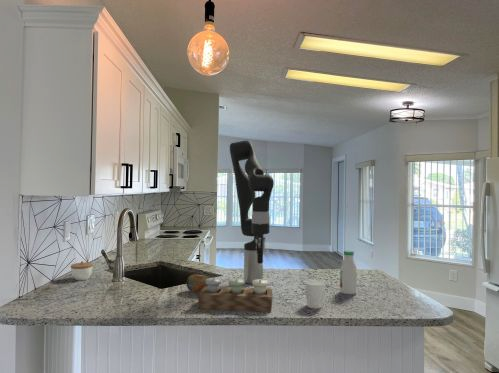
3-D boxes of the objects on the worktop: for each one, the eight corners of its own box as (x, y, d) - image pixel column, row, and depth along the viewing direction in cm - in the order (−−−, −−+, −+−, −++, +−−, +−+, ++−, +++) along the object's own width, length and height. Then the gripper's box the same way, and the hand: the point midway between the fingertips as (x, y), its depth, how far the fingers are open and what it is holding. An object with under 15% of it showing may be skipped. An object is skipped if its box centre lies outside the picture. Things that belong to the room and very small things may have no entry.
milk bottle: (359, 292, 176) (359, 251, 176) (351, 296, 170) (352, 253, 170) (344, 289, 181) (345, 249, 181) (336, 292, 176) (337, 251, 176)
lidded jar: (87, 281, 190) (87, 263, 190) (66, 281, 191) (66, 263, 191) (96, 276, 201) (96, 259, 201) (76, 276, 201) (76, 259, 201)
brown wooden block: (272, 302, 160) (272, 288, 160) (271, 311, 148) (271, 297, 148) (204, 299, 163) (204, 286, 163) (198, 308, 151) (198, 294, 151)
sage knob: (245, 290, 158) (245, 278, 158) (243, 295, 152) (243, 282, 152) (229, 290, 159) (230, 278, 159) (227, 294, 152) (227, 282, 152)
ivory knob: (268, 291, 157) (268, 279, 157) (267, 296, 151) (267, 283, 151) (252, 291, 158) (252, 278, 158) (251, 295, 151) (251, 282, 151)
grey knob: (222, 290, 159) (222, 277, 159) (219, 294, 153) (219, 281, 153) (207, 289, 160) (207, 277, 160) (203, 293, 153) (204, 281, 153)
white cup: (320, 310, 150) (320, 286, 150) (302, 307, 154) (302, 283, 154) (327, 305, 157) (327, 282, 157) (309, 302, 161) (310, 279, 161)
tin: (185, 291, 175) (186, 273, 175) (189, 289, 178) (190, 272, 178) (212, 296, 168) (212, 277, 168) (216, 294, 171) (216, 276, 171)
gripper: (253, 220, 161) (252, 259, 161) (250, 223, 148) (249, 266, 148) (270, 220, 160) (269, 260, 160) (268, 223, 147) (268, 266, 147)
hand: (260, 263), depth 154 cm, fingers closed
